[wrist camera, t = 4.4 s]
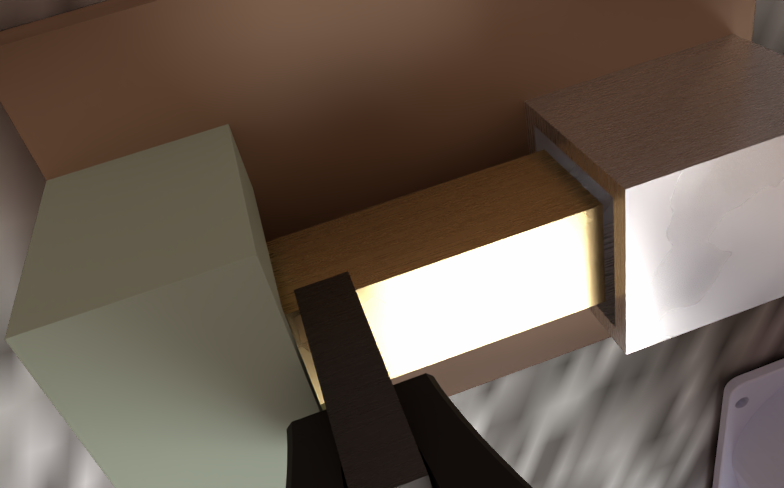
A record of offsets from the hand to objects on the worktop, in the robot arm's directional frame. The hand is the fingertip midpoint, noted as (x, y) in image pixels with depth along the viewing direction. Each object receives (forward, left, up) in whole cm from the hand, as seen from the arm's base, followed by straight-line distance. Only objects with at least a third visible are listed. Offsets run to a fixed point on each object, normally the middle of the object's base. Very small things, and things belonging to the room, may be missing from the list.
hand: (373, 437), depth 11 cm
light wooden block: (0, -1, -5) cm, 5 cm away
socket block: (0, +2, -5) cm, 6 cm away
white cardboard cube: (0, -8, -5) cm, 9 cm away
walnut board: (0, -3, -6) cm, 7 cm away
